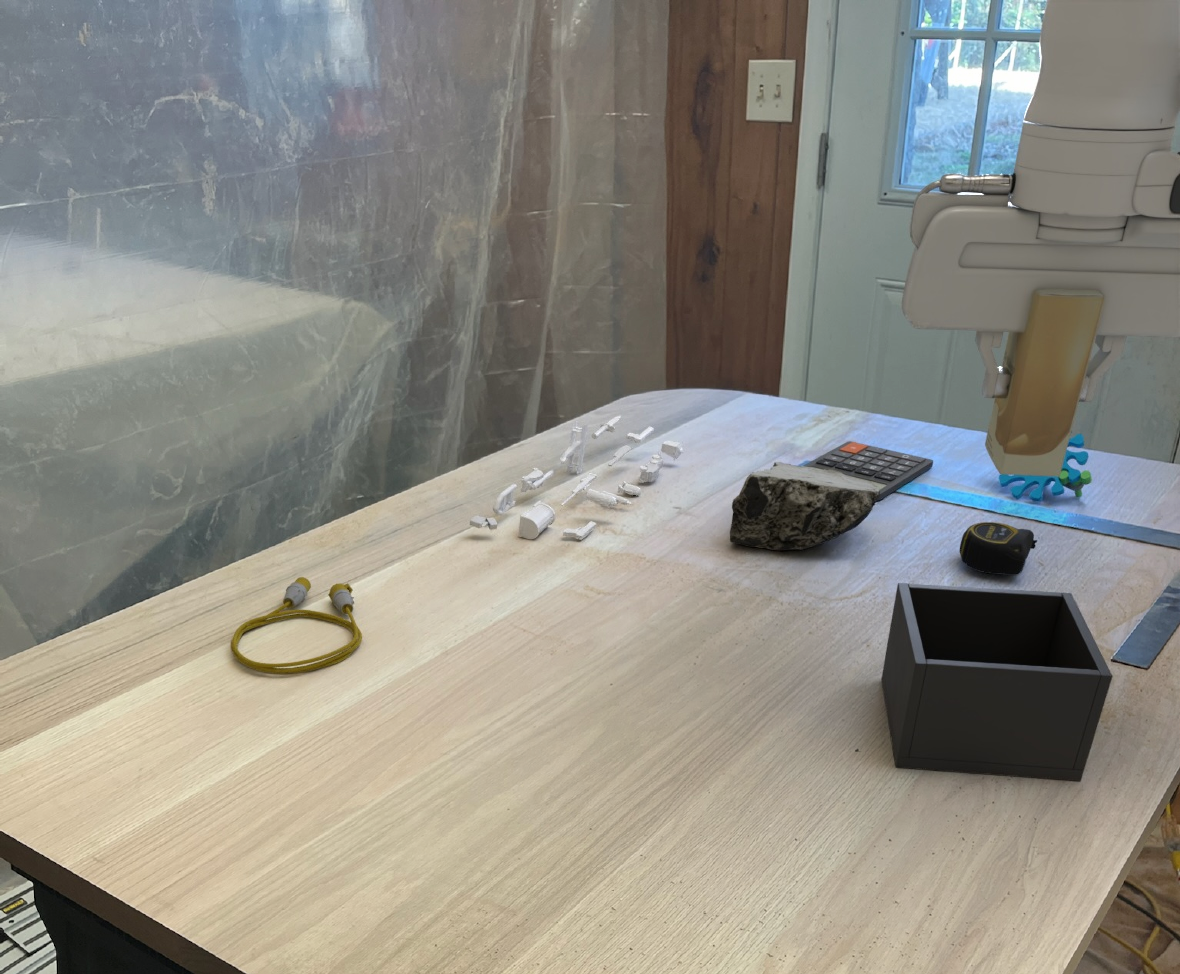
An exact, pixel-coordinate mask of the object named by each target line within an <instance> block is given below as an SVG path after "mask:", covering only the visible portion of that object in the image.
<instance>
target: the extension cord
mask: <svg viewBox="0 0 1180 974" xmlns="http://www.w3.org/2000/svg"><path fill="white" fill-rule="evenodd" d="M311 587H312V584H311V582H310V580H309V579H308V578H307V577H304V576H300V577H297V578H296V579H295V581H294V582H291V584H290V585H289V586H287V587H286V589H285V594H284V597H283V599H282V605H280V606H279V607H278V608H276V609H274V610H273V611H271V612H269V613H268V614H266V615H262V616H258V617H255V618H252V619H249V620H247V621H245V622H243V623H242V624H241V625H240V626H239V627H238V628H237V629H236V630H235V632H234V633H233V636H232V639H231V642H230V643H231V644H230V649H231V653H232V655H233V656H234V658H235V659H236V660H237V661H238V662H240V663H241V664H242V665H244V666H246V667H247V668H250V669H253V670H255V671H259V672H263V673H268V674H277V675H278V674H281V675H283V674H284V675H285V674H297V673H298V674H299V673H304V672H309V671H313V670H319V669H323V668H326V667H329V666H332V665H335V664H338V663H340V662H342V661H344V660H346V659H347V658H349V657H350V656H351V654H352V653H353V652H354V651H355V650H356V649H357V648H358V647H359V646H360V645H361V643H362V641H363V633H362V632H361V630H360V628H359V627H358V625H357V623H356V620H355V618H354V616H353V614H352V613H353V611H354V604H355V601H354V599H355V596H352V593H353V588H352V587H351V585H350V583H348V582H347V583H345V584H343V583H340V582H339V583H335V584H333V585H332V586H331V587H330V588H329V589H330V590H329V593H328V594H327V595H328V597H329V598H330V601H331V603H332V605H334V607H335V608H337V609H338V610H339V611H340V612H341V613H342V614H343V615H347V616H348V618H349V620H348V619H345V618H344V617H341V616H337V615H334V614H331V613H327V612H322V611H317V610H316V611H315V610H311V609H293V608H295V607H296V606H297V605H299V604H301V603H302V604H303V602H304V601H305V600H306V597H307V596H308V592H309V591H310V589H311ZM286 608H287V609H288V610H285V609H286ZM289 609H290V610H289ZM294 618H311V619H319V620H323V621H327V622H330V623H334V624H336V625H339V626H341V627H344V628H346V629H347V630H349V631H350V632H351V633H352V634H351V635H352V639H351V640H350V641H349V642H348V643H347V644H345V645H344V646H341V647H340V648H338V649H335V650H333V651H331V652H328V653H325V654H322V655H319V656H316V657H313V658H308V659H304V660H298V661H292V662H281V663H266V662H259V661H255V660H252V659H249V658H247V657H246V656H245V655H243V654H242V653H241V652H240V651H239V649H238V645H239V642H240V640H241V638H242V636H243V634H244V633H246V632H247V631H249V630H251V629H254V628H257V627H260V626H262V625H267V624H270V623H274V622H279V621H284V620H289V619H294Z"/></svg>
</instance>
